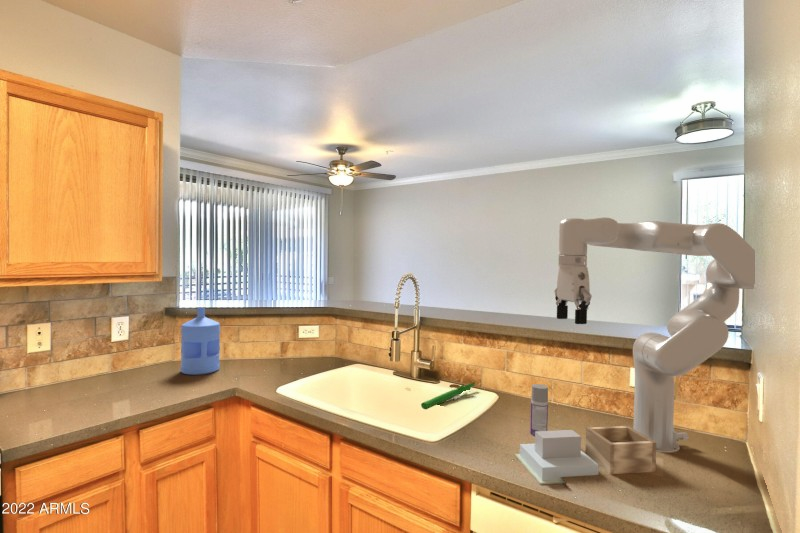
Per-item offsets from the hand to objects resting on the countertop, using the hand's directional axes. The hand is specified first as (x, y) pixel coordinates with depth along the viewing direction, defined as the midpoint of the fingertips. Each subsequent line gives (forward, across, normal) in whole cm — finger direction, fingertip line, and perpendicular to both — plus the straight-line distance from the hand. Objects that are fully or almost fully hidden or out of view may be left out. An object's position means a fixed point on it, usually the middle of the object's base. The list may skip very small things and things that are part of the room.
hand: (571, 321), depth 118 cm
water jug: (+34, +82, +128) cm, 156 cm away
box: (+34, -16, -4) cm, 38 cm away
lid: (+34, -15, +12) cm, 39 cm away
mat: (+34, -15, +12) cm, 39 cm away
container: (+34, +2, +8) cm, 35 cm away
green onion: (+35, +37, +25) cm, 56 cm away
